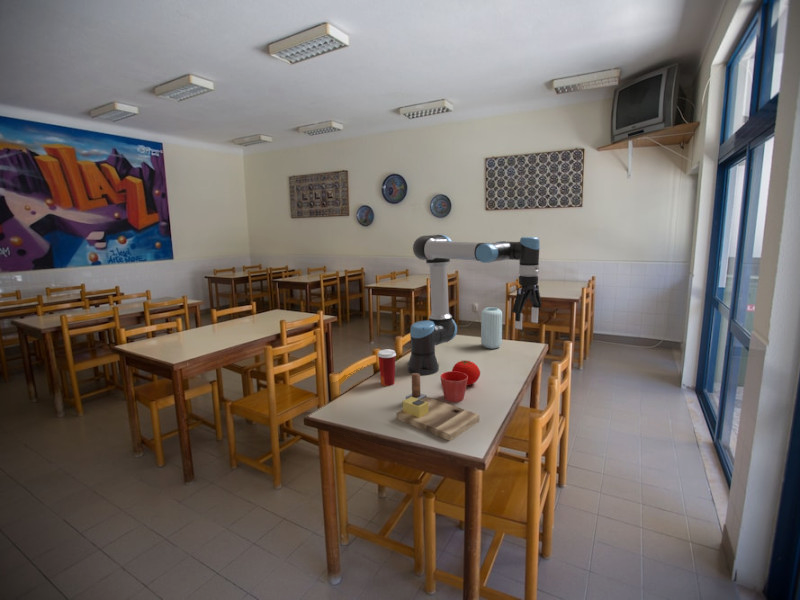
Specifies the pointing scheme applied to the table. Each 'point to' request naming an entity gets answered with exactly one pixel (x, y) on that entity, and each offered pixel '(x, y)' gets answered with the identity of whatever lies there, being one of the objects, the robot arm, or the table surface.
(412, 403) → the block
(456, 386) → the flower pot
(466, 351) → the table surface
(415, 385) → the brown rounded cylinder
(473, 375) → the tomato
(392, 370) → the coffee cup
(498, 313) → the vase
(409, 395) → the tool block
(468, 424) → the subfloor panel
